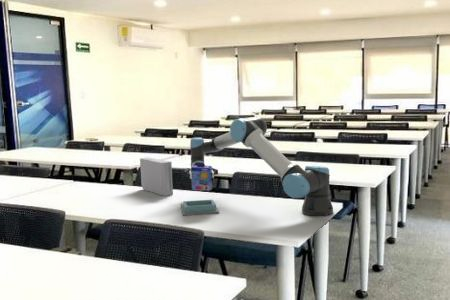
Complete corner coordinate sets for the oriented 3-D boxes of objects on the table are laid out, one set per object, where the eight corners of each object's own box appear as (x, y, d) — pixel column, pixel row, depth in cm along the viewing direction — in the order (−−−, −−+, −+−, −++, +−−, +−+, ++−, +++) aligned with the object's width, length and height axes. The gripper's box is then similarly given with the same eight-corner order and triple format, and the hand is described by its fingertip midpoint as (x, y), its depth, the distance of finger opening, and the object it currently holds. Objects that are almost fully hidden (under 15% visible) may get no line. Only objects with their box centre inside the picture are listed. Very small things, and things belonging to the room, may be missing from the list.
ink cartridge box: (191, 190, 255) (190, 162, 253) (194, 187, 261) (193, 160, 259) (209, 190, 253) (208, 162, 251) (212, 188, 258) (211, 161, 256)
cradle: (218, 213, 248) (218, 206, 248) (183, 215, 246) (182, 209, 246) (214, 203, 268) (214, 197, 268) (181, 206, 266) (180, 199, 265)
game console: (164, 196, 290) (163, 163, 287) (141, 189, 311) (139, 158, 308) (173, 194, 294) (171, 161, 291) (149, 188, 315) (147, 157, 312)
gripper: (219, 173, 275) (224, 181, 254) (178, 175, 272) (179, 184, 251) (219, 160, 274) (224, 167, 252) (177, 162, 271) (179, 169, 250)
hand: (202, 175), depth 252 cm, fingers closed on ink cartridge box, 11 cm apart
